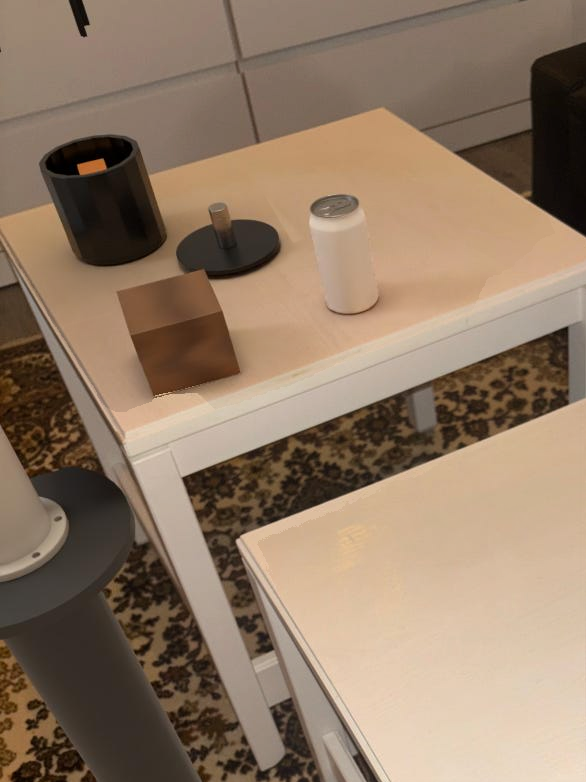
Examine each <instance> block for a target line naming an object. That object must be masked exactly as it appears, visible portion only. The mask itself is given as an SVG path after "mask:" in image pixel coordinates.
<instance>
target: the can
mask: <svg viewBox="0 0 586 782" xmlns="http://www.w3.org/2000/svg"><path fill="white" fill-rule="evenodd" d="M309 211H310V216H309V219H308V220H309V221H308V223H309V231H310V234H311V235H310V236H311V239H312V244H313V248H314V249H313V250H314V252H315V253H314V254H315V257H316V262H317V267H318V272H319V277H320V281H321V287H322V291H323V295H324V300H325V304H326V306H327V308H328V309H330V310H331V311H332V312H335V313H337V314H340V315H356V314H361V313H364V312H367V311H368V310H370V309H371V308H373V307H374V306H375V304H376V303H377V302H378V300H379V289H378V283H377V278H376V271H375V266H374V265H375V264H374V260H373V253H372V248H371V241H370V236H369V235H370V234H369V230H368V225H367V219H366V214H365V211H364V210H363V208H362V207H361V206H360V200H359V199H358V197H356V196H354V195H352V194H348V193H334V194H327V195H324V196H321V197H319V198H317V199H315V200H314V201H313V202H312V203H311V204H310V206H309Z"/></svg>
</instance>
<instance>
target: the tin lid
mask: <svg viewBox="0 0 586 782" xmlns="http://www.w3.org/2000/svg"><path fill="white" fill-rule="evenodd" d="M207 211H208V214H209V217H210V220H211V223H210V224H207V225H205V226H202V227H199V228H198V229H196V230H194V231H192V232H190V233H189V234H188V235H186V236H185V237H184V238H183V239H182V240H181V241H180V242H179V243H178V245H177V247H176V250H175V253H176V259H177V262H178V263H179V265H180V266H181V267H182V268H184V269H185V270H187V271H189V272H194V271H198V270H202V269H204V270H205V272H206V275H207V276H208V275H210V276H219V275H229V274H234V273H240V272H242V271H246V270H249V269H252V268H255V267H257V266H259V265H261V264H263V263H265V262H266V261H268V260H269V259H270V258H271V257H273V256H274V254H276V252H277V250H278V249H279V247H280V244H281V243H280V242H281V240H280V234H279V232H278V231H277V228H276V227H274V226H272V225H271V224H270V223H266V222H265V221H261V220H256V219H248V218H247V219H245V218H244V219H243V218H241V219H231V216H230V212H229V209H228V205H227V204H226V203H225V202H214V203H211V204H210V205H209V206H208V207H207Z"/></svg>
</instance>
